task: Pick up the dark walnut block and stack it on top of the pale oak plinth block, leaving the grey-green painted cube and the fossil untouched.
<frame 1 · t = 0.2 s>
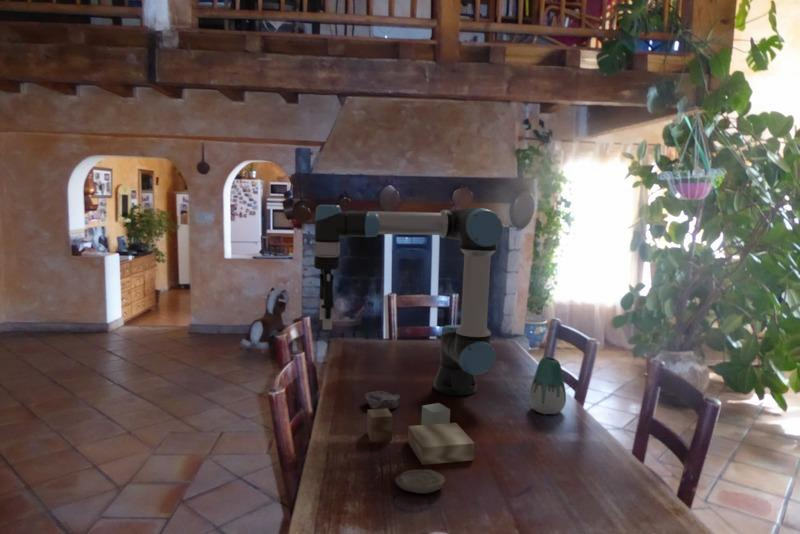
hand: (325, 324, 179), 28 cm above the table, fingers open, 13 cm apart
walnut block: (379, 436, 164), on the table
rock: (381, 407, 188), on the table
fossil: (419, 488, 136), on the table
plinth: (439, 452, 156), on the table
vase: (546, 411, 189), on the table
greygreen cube: (435, 427, 173), on the table
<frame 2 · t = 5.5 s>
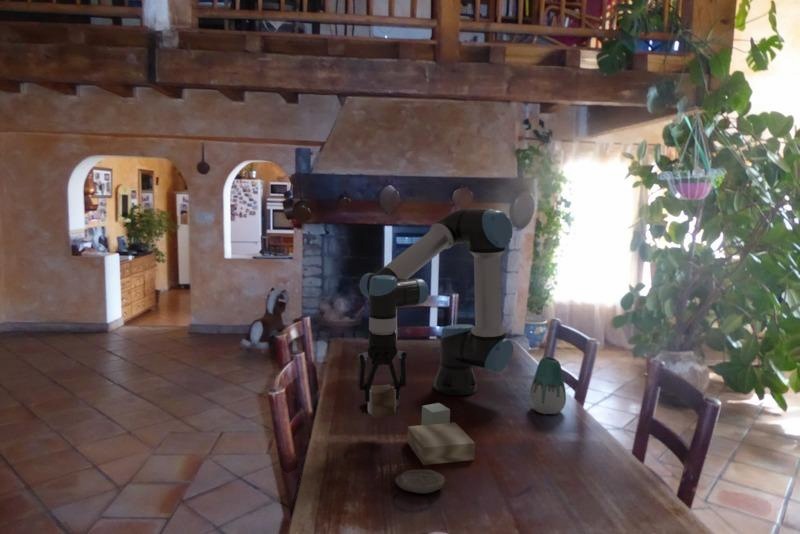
hand: (381, 411, 164), 7 cm above the table, fingers closed on walnut block, 6 cm apart
walnut block: (381, 412, 164), point 7 cm above the table, touching gripper
everything else where it was.
when the fingers open (5 cm above the table, at t = 10.1 s): walnut block stays where it is, resting on plinth.
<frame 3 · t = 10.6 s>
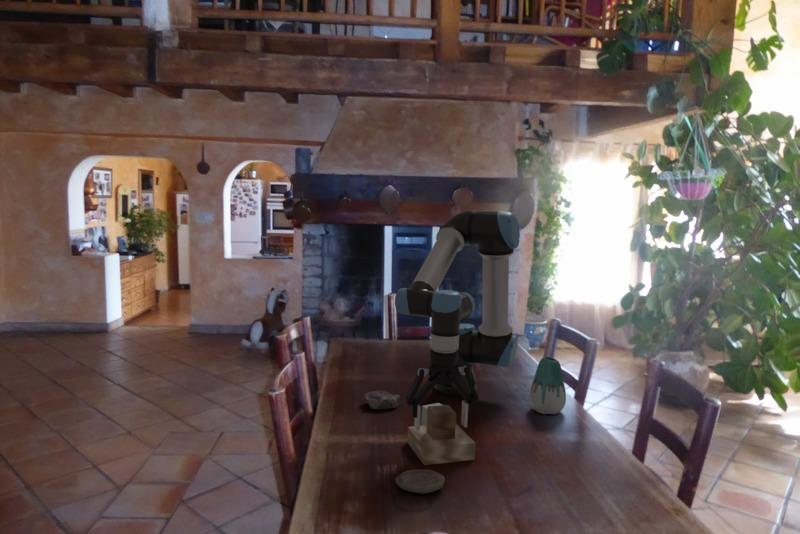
hand: (440, 427, 156), 7 cm above the table, fingers open, 13 cm apart
walnut block: (440, 434, 156), point 5 cm above the table, touching plinth
plinth: (439, 452, 156), on the table, touching walnut block
everything else where it was.
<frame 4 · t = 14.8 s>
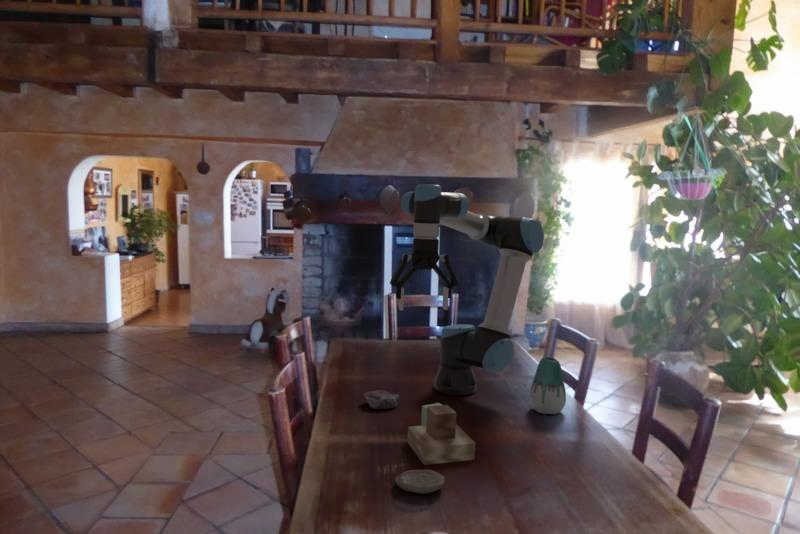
hand: (423, 309, 171), 35 cm above the table, fingers open, 13 cm apart
nothing on the table moved.
at the end: walnut block 0.1 cm from the plinth (horizontally); walnut block inside the target area on the plinth (0.1 cm from its centre), point 5.0 cm above the plinth's base; walnut block tilted 0° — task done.
